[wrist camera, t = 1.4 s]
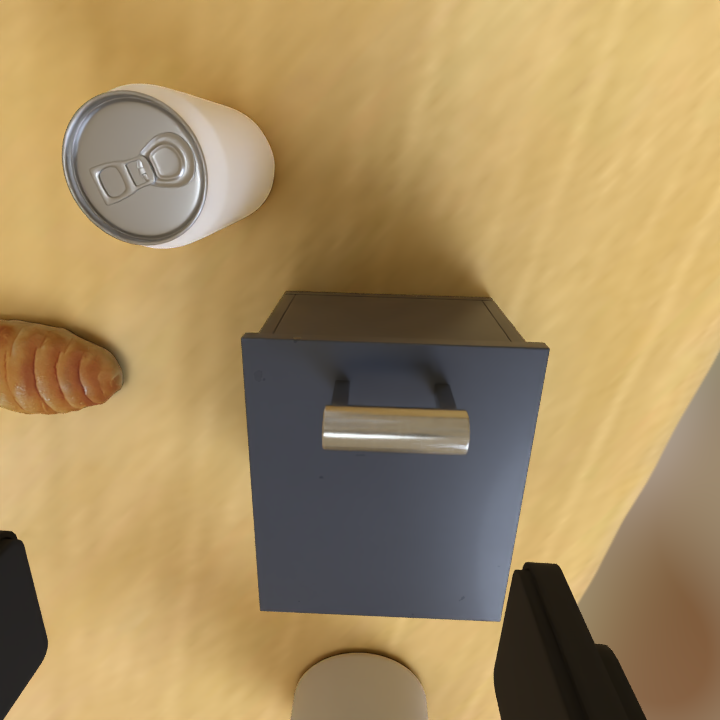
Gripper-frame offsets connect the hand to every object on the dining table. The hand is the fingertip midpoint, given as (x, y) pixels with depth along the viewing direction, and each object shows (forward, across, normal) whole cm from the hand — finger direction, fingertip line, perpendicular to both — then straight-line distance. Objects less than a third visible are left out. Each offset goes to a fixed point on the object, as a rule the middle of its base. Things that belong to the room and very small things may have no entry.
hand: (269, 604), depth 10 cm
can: (+25, +8, -8) cm, 27 cm away
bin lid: (+15, -3, +8) cm, 17 cm away
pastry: (+26, +21, +6) cm, 33 cm away
